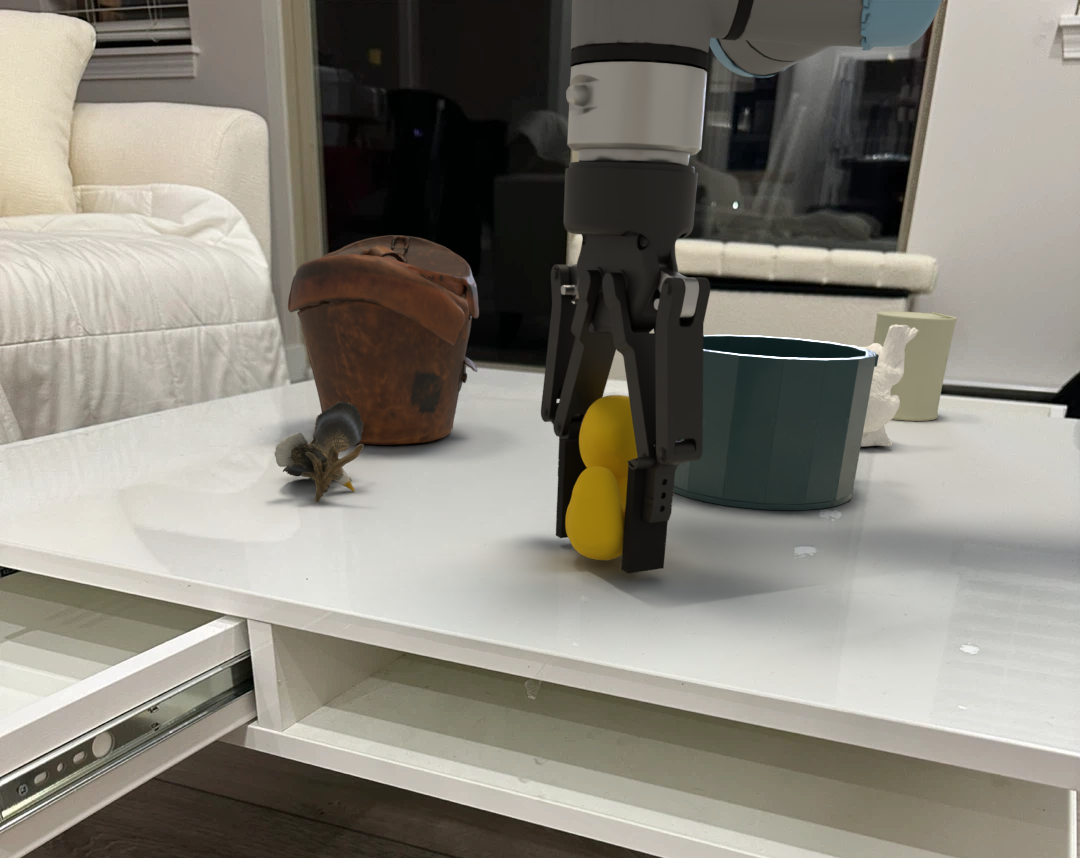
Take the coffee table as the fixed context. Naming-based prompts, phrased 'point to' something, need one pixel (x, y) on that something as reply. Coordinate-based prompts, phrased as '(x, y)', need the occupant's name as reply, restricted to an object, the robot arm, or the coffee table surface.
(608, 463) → the duckling
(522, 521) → the coffee table surface
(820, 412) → the pot
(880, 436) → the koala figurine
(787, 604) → the coffee table surface
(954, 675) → the coffee table surface
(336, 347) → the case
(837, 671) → the coffee table surface
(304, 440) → the eagle figurine
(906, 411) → the green tapered cup
